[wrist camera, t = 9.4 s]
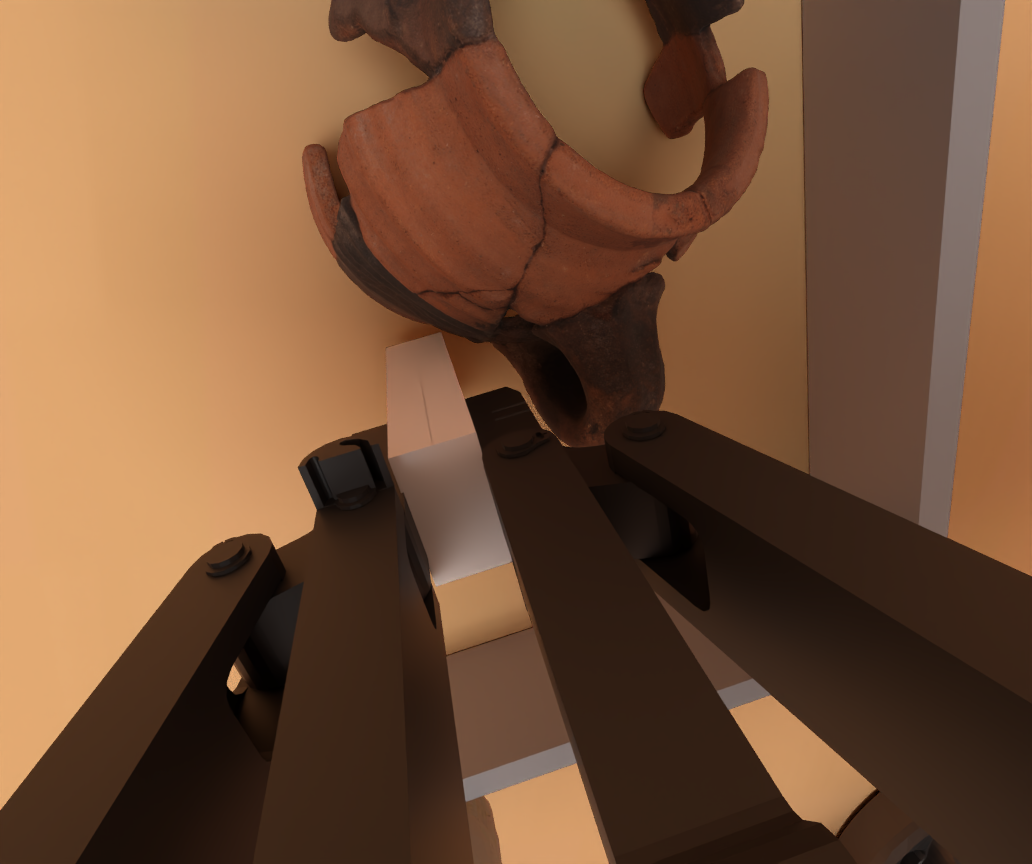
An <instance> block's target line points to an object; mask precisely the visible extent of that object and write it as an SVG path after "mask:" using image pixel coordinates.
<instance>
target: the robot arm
mask: <svg viewBox="0 0 1032 864" xmlns="http://www.w3.org/2000/svg"><path fill="white" fill-rule="evenodd" d="M386 385H387V424H385V425H382V426H379V427H375V428H372V429H369V430H365V431H362V432H359V433H355V434H352V436H350V437H346V438H341V439H338V440H336V441H333V442H330V443H328V444H325V445H324V446H322V447H320V448H318V449H316V450H315V451H313V452H311V453H310V454H309V455H308V456H307V457H305V458H304V459H303V460H302V462H301V463H300V465H299V466H298V469H299V471H300V474H301V476H302V478H303V480H304V482H305V485H306V487H307V489H308V491H309V493H310V496H311V498H312V500H313V502H314V504H315V507H316V509H317V513H316V518H315V524H314V529H313V530H312V531H311V532H309V533H308V534H306V535H304V536H302V537H301V538H299V539H297V540H295V541H293V542H291V543H289V544H287V545H285V546H283V547H281V548H279V549H277V550H276V549H275V547H274V545H273V543H272V541H271V539H270V537H268V536H266V535H263V534H247V535H243V536H240V537H233V538H230V539H228V540H225V542H224V543H223V542H221V543H219V544H217V545H215V546H214V547H213V548H212V549H211V550H210V551H208V552H207V553H205V554H204V555H202V556H201V557H200V558H199V559H198V560H197V561H196V562H195V563H194V564H193V565H192V566H191V567H190V568H189V569H188V571H187V572H186V573H185V574H184V576H183V577H182V578H181V580H180V581H179V582H178V583H177V585H176V586H175V587H174V589H173V590H172V591H171V592H170V594H169V595H168V596H167V598H166V599H165V600H164V601H163V603H162V604H161V605H160V607H159V608H158V609H157V610H156V612H155V613H154V614H153V615H152V617H151V618H150V619H149V621H148V622H147V623H146V624H145V626H144V627H143V628H142V630H141V631H140V632H139V633H138V635H137V636H136V637H135V639H134V640H133V641H132V642H131V644H130V645H129V646H128V648H127V649H126V650H125V651H124V653H123V654H122V655H121V657H120V658H119V659H118V660H117V662H116V663H115V664H114V665H113V667H112V668H111V669H110V671H109V672H108V673H107V674H106V676H105V677H104V678H103V680H102V681H101V682H100V683H99V685H98V686H97V687H96V689H95V690H94V691H93V692H92V694H91V695H90V696H89V698H88V699H87V700H86V701H85V703H84V704H83V705H82V707H81V708H80V709H79V710H78V712H77V713H76V714H75V715H74V717H73V718H72V719H71V721H70V722H69V723H68V724H67V726H66V727H65V728H64V730H63V731H62V732H61V733H60V735H59V736H58V737H57V739H56V740H55V741H54V742H53V744H52V745H51V746H50V748H49V749H48V750H47V751H46V753H45V754H44V755H43V757H42V758H41V759H40V760H39V762H38V763H37V764H36V765H35V767H34V768H33V769H32V771H31V772H30V773H29V774H28V776H27V777H26V778H25V780H24V781H23V782H22V783H21V785H20V786H19V787H18V789H17V790H16V791H15V792H14V794H13V795H12V796H11V798H10V799H9V800H8V801H7V803H6V804H5V805H4V807H3V808H2V809H1V810H0V864H474V860H473V853H472V846H471V838H470V831H469V823H468V816H467V808H466V801H465V793H464V786H463V778H462V771H461V763H460V756H459V748H458V741H457V733H456V726H455V718H454V711H453V703H452V696H451V688H450V681H449V673H448V666H447V658H446V651H445V643H444V636H443V628H442V621H441V613H440V606H439V602H438V600H437V597H436V594H435V592H434V589H433V586H432V584H431V578H430V572H431V574H432V577H433V580H434V582H435V585H436V586H439V585H442V584H446V583H449V582H452V581H455V580H458V579H461V578H464V577H467V576H470V575H473V574H477V573H480V572H483V571H486V570H489V569H492V568H495V567H498V566H501V565H504V564H508V563H511V562H513V565H514V569H515V572H516V576H517V579H518V582H519V586H520V589H521V592H522V596H523V599H524V602H525V606H526V609H527V611H528V613H529V616H530V619H531V622H532V625H533V629H534V632H535V635H536V638H537V641H538V644H539V647H540V650H541V653H542V657H543V660H544V663H545V666H546V669H547V672H548V675H549V678H550V681H551V685H552V688H553V691H554V694H555V697H556V700H557V703H558V706H559V709H560V712H561V716H562V719H563V722H564V725H565V728H566V731H567V734H568V737H569V740H570V744H571V747H572V750H573V753H574V756H575V759H576V762H577V765H578V768H579V772H580V775H581V778H582V781H583V784H584V787H585V790H586V793H587V796H588V800H589V803H590V806H591V809H592V812H593V815H594V818H595V821H596V824H597V827H598V831H599V834H600V837H601V840H602V843H603V846H604V849H605V852H606V855H607V859H608V862H609V864H1032V576H1029V575H1027V574H1025V573H1023V572H1021V571H1018V570H1016V569H1014V568H1012V567H1010V566H1008V565H1005V564H1003V563H1001V562H999V561H997V560H994V559H992V558H990V557H988V556H986V555H983V554H981V553H979V552H977V551H975V550H973V549H970V548H968V547H966V546H964V545H962V544H959V543H957V542H955V541H953V540H951V539H948V538H946V537H944V536H942V535H940V534H938V533H935V532H933V531H931V530H929V529H927V528H924V527H922V526H920V525H918V524H916V523H913V522H911V521H909V520H907V519H905V518H903V517H900V516H898V515H896V514H894V513H892V512H889V511H887V510H885V509H883V508H881V507H878V506H876V505H874V504H872V503H870V502H868V501H865V500H863V499H861V498H859V497H857V496H854V495H852V494H850V493H848V492H846V491H843V490H841V489H839V488H837V487H835V486H833V485H830V484H828V483H826V482H824V481H822V480H819V479H817V478H815V477H813V476H811V475H808V474H806V473H804V472H802V471H800V470H798V469H795V468H793V467H791V466H789V465H787V464H784V463H782V462H780V461H778V460H776V459H773V458H771V457H769V456H767V455H765V454H763V453H760V452H758V451H756V450H754V449H752V448H749V447H747V446H745V445H743V444H741V443H738V442H736V441H734V440H732V439H730V438H728V437H725V436H723V435H721V434H719V433H717V432H714V431H712V430H710V429H708V428H706V427H703V426H701V425H699V424H697V423H695V422H693V421H690V420H688V419H686V418H684V417H682V416H679V415H677V414H674V413H670V412H667V411H652V410H642V412H640V411H636V412H632V413H630V414H629V415H626V416H623V417H620V418H619V419H617V420H615V421H614V422H612V423H610V424H609V426H608V427H607V428H606V429H605V430H604V442H605V445H598V446H590V447H565V446H562V445H561V443H560V441H559V440H558V438H557V437H556V435H554V434H553V433H552V432H550V431H548V430H544V429H542V428H541V426H540V425H539V423H538V421H537V420H536V418H535V416H534V415H533V413H532V411H531V410H530V408H529V406H528V405H527V403H526V402H525V400H524V398H523V396H522V395H521V393H520V392H519V391H516V390H513V389H511V388H508V387H503V388H500V389H497V390H493V391H490V392H487V393H483V394H480V395H477V396H473V397H470V398H467V399H464V396H463V393H462V390H461V388H460V385H459V382H458V379H457V376H456V373H455V370H454V368H453V365H452V362H451V359H450V356H449V353H448V350H447V348H446V345H445V342H444V339H443V336H442V333H441V332H439V333H436V334H432V335H429V336H425V337H422V338H418V339H415V340H411V341H408V342H404V343H401V344H397V345H394V346H391V347H387V348H386ZM429 569H430V570H429ZM654 591H655V592H656V593H657V594H658V595H659V596H660V597H661V598H662V599H664V600H665V601H666V602H667V603H668V604H669V605H670V606H672V607H673V608H674V609H675V610H676V611H677V612H678V613H679V614H681V615H682V616H683V617H684V618H685V619H686V620H687V621H688V622H690V623H691V624H692V625H693V626H694V627H695V628H696V629H697V630H699V631H700V632H701V633H702V634H703V635H704V636H705V637H706V638H708V639H709V640H710V641H711V642H712V643H713V644H714V645H716V646H717V647H718V648H719V649H720V650H721V651H722V652H723V653H725V654H726V655H727V656H728V657H729V658H730V659H731V660H732V661H734V662H735V663H736V664H737V665H738V666H739V667H740V668H741V669H743V670H744V671H745V672H746V673H747V674H748V675H749V676H750V677H752V678H753V679H754V680H755V681H756V682H757V683H758V684H760V685H761V686H762V687H763V688H764V689H765V690H766V691H767V692H769V693H770V694H771V695H772V696H773V697H774V698H775V699H776V700H778V701H779V702H780V703H781V704H782V705H783V706H784V707H785V708H787V709H788V710H789V711H790V712H791V713H792V714H793V715H795V716H796V717H797V718H798V719H799V720H800V721H801V722H802V723H804V724H805V725H806V726H807V727H808V728H809V729H810V730H811V731H813V732H814V733H815V734H816V735H817V736H818V737H819V738H820V739H822V740H823V741H824V742H825V743H826V744H827V745H828V746H829V747H831V748H832V749H833V750H834V751H835V752H836V753H837V754H839V755H840V756H841V757H842V758H843V759H844V760H845V761H846V762H848V763H849V764H850V765H851V766H852V767H853V768H854V769H855V770H857V771H858V772H859V773H860V774H861V775H862V776H863V777H864V778H866V779H867V780H868V781H869V782H870V783H871V784H872V785H873V786H875V787H876V788H877V789H878V790H879V791H880V793H878V794H877V795H876V796H875V797H874V798H873V799H872V800H871V801H870V802H868V803H867V804H866V805H865V806H864V807H863V808H862V809H861V810H860V812H859V813H858V814H857V815H856V816H855V817H854V818H853V819H852V821H851V822H850V823H849V824H848V826H847V827H846V828H845V830H844V831H843V833H842V834H841V836H840V837H839V839H838V838H837V837H836V836H835V835H833V834H832V833H831V832H830V831H829V830H828V829H827V828H826V827H825V826H824V825H822V824H821V823H819V822H812V821H806V820H802V819H801V818H800V817H799V816H798V815H797V814H796V813H795V812H794V811H793V810H792V808H791V807H790V805H789V804H788V803H787V801H786V800H785V798H784V797H783V796H782V794H781V792H780V791H779V789H778V788H777V786H776V785H775V783H774V781H773V780H772V778H771V777H770V775H769V773H768V772H767V770H766V769H765V767H764V765H763V764H762V762H761V761H760V759H759V758H758V756H757V754H756V753H755V751H754V750H753V748H752V746H751V745H750V743H749V742H748V740H747V738H746V737H745V735H744V734H743V732H742V731H741V729H740V727H739V726H738V724H737V723H736V721H735V719H734V718H733V716H732V715H731V713H730V711H729V710H728V708H727V707H726V705H725V704H724V702H723V700H722V699H721V697H720V696H719V694H718V692H717V691H716V689H715V688H714V686H713V684H712V683H711V681H710V680H709V678H708V677H707V675H706V673H705V672H704V670H703V669H702V667H701V665H700V664H699V662H698V661H697V659H696V657H695V656H694V654H693V653H692V651H691V650H690V648H689V646H688V645H687V643H686V642H685V640H684V638H683V637H682V635H681V634H680V632H679V630H678V629H677V627H676V626H675V624H674V623H673V621H672V619H671V618H670V616H669V615H668V613H667V611H666V610H665V608H664V607H663V605H662V603H661V602H660V600H659V599H658V597H657V596H656V594H655V592H654ZM233 664H234V666H235V667H236V669H237V670H238V672H239V674H240V675H241V677H242V678H241V680H240V682H239V684H238V685H237V687H236V689H235V690H234V691H233V692H232V691H231V690H229V688H228V687H227V680H228V677H229V674H230V671H231V668H232V666H233Z"/></svg>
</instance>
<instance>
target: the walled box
mask: <svg viewBox="0 0 1032 864" xmlns="http://www.w3.org/2000/svg"><path fill="white" fill-rule="evenodd" d="M1004 6H1005V0H802V26H803V89H804V151H805V213H806V276H807V338H808V401H809V463H810V475H811V476H813V477H815V478H817V479H819V480H822V481H824V482H826V483H828V484H830V485H833V486H835V487H837V488H839V489H841V490H843V491H846V492H848V493H850V494H852V495H854V496H857V497H859V498H861V499H863V500H865V501H868V502H870V503H872V504H874V505H876V506H878V507H881V508H883V509H885V510H887V511H889V512H892V513H894V514H896V515H898V516H900V517H903V518H905V519H907V520H909V521H911V522H913V523H916V524H918V525H920V526H922V527H924V528H927V529H929V530H931V531H933V532H935V533H938V534H940V535H942V536H944V537H946V538H947V536H948V527H949V518H950V508H951V499H952V490H953V481H954V471H955V462H956V453H957V443H958V434H959V425H960V415H961V406H962V397H963V388H964V378H965V369H966V360H967V350H968V341H969V332H970V323H971V313H972V304H973V295H974V285H975V276H976V267H977V257H978V248H979V239H980V230H981V220H982V211H983V202H984V192H985V183H986V174H987V164H988V155H989V146H990V137H991V127H992V118H993V109H994V99H995V90H996V81H997V71H998V62H999V53H1000V44H1001V34H1002V25H1003V16H1004ZM654 592H655V591H654ZM655 594H656V596H657V597H658V599H659V600H660V602H661V603H662V605H663V607H664V608H665V610H666V611H667V613H668V615H669V616H670V618H671V619H672V621H673V623H674V624H675V626H676V627H677V629H678V630H679V632H680V634H681V635H682V637H683V638H684V640H685V642H686V643H687V645H688V646H689V648H690V650H691V651H692V653H693V654H694V656H695V657H696V659H697V661H698V662H699V664H700V665H701V667H702V669H703V670H704V672H705V673H706V675H707V677H708V678H709V680H710V681H711V683H712V684H713V686H714V688H715V689H716V691H717V692H718V694H719V696H720V697H721V699H722V700H723V702H724V704H725V705H726V707H727V708H728V710H729V709H732V708H735V707H738V706H741V705H743V704H746V703H749V702H752V701H755V700H758V699H761V698H763V697H766V696H769V695H771V694H770V693H769V692H767V691H766V690H765V689H764V688H763V687H762V686H761V685H760V684H758V683H757V682H756V681H755V680H754V679H753V678H752V677H750V676H749V675H748V674H747V673H746V672H745V671H744V670H743V669H741V668H740V667H739V666H738V665H737V664H736V663H735V662H734V661H732V660H731V659H730V658H729V657H728V656H727V655H726V654H725V653H723V652H722V651H721V650H720V649H719V648H718V647H717V646H716V645H714V644H713V643H712V642H711V641H710V640H709V639H708V638H706V637H705V636H704V635H703V634H702V633H701V632H700V631H699V630H697V629H696V628H695V627H694V626H693V625H692V624H691V623H690V622H688V621H687V620H686V619H685V618H684V617H683V616H682V615H681V614H679V613H678V612H677V611H676V610H675V609H674V608H673V607H672V606H670V605H669V604H668V603H667V602H666V601H665V600H664V599H662V598H661V597H660V596H659V595H658V594H657V593H656V592H655ZM446 658H447V666H448V673H449V681H450V688H451V696H452V703H453V711H454V718H455V726H456V733H457V741H458V748H459V756H460V763H461V771H462V778H463V786H464V793H465V801H466V802H467V801H470V800H473V799H475V798H478V797H481V796H484V795H487V794H490V793H493V792H495V791H498V790H501V789H504V788H507V787H510V786H512V785H515V784H518V783H521V782H524V781H527V780H530V779H532V778H535V777H538V776H541V775H544V774H547V773H550V772H552V771H555V770H558V769H561V768H564V767H567V766H570V765H572V764H575V763H577V762H576V759H575V756H574V753H573V750H572V747H571V744H570V740H569V737H568V734H567V731H566V728H565V725H564V722H563V719H562V716H561V712H560V709H559V706H558V703H557V700H556V697H555V694H554V691H553V688H552V685H551V681H550V678H549V675H548V672H547V669H546V666H545V663H544V660H543V657H542V653H541V650H540V647H539V644H538V641H537V638H536V635H535V632H534V629H533V628H530V629H527V630H524V631H521V632H518V633H515V634H512V635H509V636H506V637H503V638H500V639H497V640H494V641H491V642H488V643H485V644H482V645H479V646H476V647H472V648H469V649H466V650H463V651H460V652H457V653H454V654H451V655H448V656H446Z"/></svg>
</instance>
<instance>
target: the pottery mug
mask: <svg viewBox="0 0 1032 864" xmlns="http://www.w3.org/2000/svg"><path fill="white" fill-rule="evenodd" d="M645 1H646V3H647V6H648V8H649V11H650V14H651V16H652V18H653V20H654V22H655V25H656V28H657V31H658V34H659V36H660V38H661V40H662V42H663V49H662V51H661V53H660V55H659V57H658V58H657V60H656V61H655V63H654V65H653V68H652V70H651V73H650V75H649V77H648V79H647V81H646V83H645V86H644V96H645V100H646V103H647V105H648V107H649V109H650V111H651V113H652V115H653V117H654V119H655V120H656V122H657V123H658V125H659V126H660V128H661V130H662V131H663V132H664V134H665V135H666V136H667V137H668V138H670V139H674V138H679V137H682V136H684V135H686V134H688V133H689V132H690V131H691V130H692V128H693V126H694V124H695V123H696V122H697V121H698V120H699V119H700V118H702V117H703V116H704V121H705V151H704V158H703V163H702V167H701V173H700V175H699V177H698V178H697V180H696V181H695V183H694V184H693V185H691V186H690V187H688V188H687V189H685V190H684V191H682V192H680V193H677V194H659V193H649V192H645V191H642V190H639V189H637V188H633V187H630V186H627V185H625V184H623V183H621V182H619V181H617V180H615V179H613V178H611V177H610V176H608V175H606V174H605V173H603V172H601V171H599V170H597V169H596V168H595V167H593V166H592V165H591V164H590V163H588V162H587V161H586V160H585V159H584V158H582V157H581V156H580V155H579V154H578V153H576V152H575V151H574V150H573V149H572V148H571V147H570V146H568V145H567V144H566V143H564V142H563V141H561V140H560V139H558V137H557V136H556V134H555V132H554V130H553V128H552V127H551V125H550V124H549V123H548V122H547V120H546V119H545V118H544V117H543V116H542V114H541V113H540V112H539V111H538V109H537V108H536V106H535V105H534V103H533V101H532V100H531V98H530V96H529V95H528V93H527V91H526V90H525V88H524V87H523V85H522V83H521V81H520V79H519V77H518V76H517V74H516V72H515V70H514V68H513V66H512V64H511V62H510V60H509V58H508V56H507V53H506V51H505V49H504V47H503V45H502V44H501V43H500V42H499V41H498V39H497V37H496V35H495V33H494V29H493V20H492V15H491V7H490V3H489V0H332V1H331V7H330V12H329V29H330V33H331V35H332V37H333V38H334V39H335V40H337V41H343V42H347V41H351V40H354V39H356V38H358V37H360V36H362V35H363V34H365V33H367V34H368V35H369V36H370V37H371V38H372V39H374V40H375V41H378V42H380V43H382V44H384V45H386V46H388V47H390V48H392V49H394V50H396V51H398V52H399V53H401V54H403V55H404V56H406V57H407V58H408V59H409V60H410V62H411V63H412V64H413V65H415V66H416V67H418V68H419V69H420V70H422V71H423V72H424V73H425V74H427V75H428V76H429V80H428V81H427V82H426V83H424V84H423V85H421V86H417V87H412V88H409V89H406V90H403V91H401V92H400V93H398V94H396V95H395V96H394V97H392V98H390V99H388V100H385V101H382V102H379V103H377V104H375V105H372V106H371V107H369V108H367V109H365V110H362V111H359V112H356V113H354V114H352V115H351V116H349V117H347V118H346V119H345V120H344V124H343V132H342V134H341V137H340V140H339V144H338V153H337V163H338V166H339V168H340V171H341V173H342V176H343V178H344V181H345V182H346V184H347V187H348V189H349V192H350V195H348V196H346V197H343V198H342V199H341V204H340V201H339V199H338V196H337V193H336V189H335V186H334V182H333V178H332V174H331V171H330V166H329V161H328V157H327V153H326V150H325V148H324V147H323V146H321V145H319V144H311V145H308V146H306V147H305V149H304V151H303V156H302V162H303V172H304V180H305V184H306V191H307V196H308V200H309V205H310V208H311V211H312V214H313V218H314V220H315V223H316V225H317V227H318V230H319V232H320V234H321V236H322V238H323V240H324V242H325V243H326V245H327V247H328V248H329V250H330V252H331V254H332V255H333V256H334V258H335V259H336V260H337V262H338V264H339V266H340V267H341V269H342V270H343V271H344V272H345V273H346V275H347V276H348V277H349V278H350V279H351V280H352V281H353V282H354V283H355V284H356V285H357V286H358V287H359V288H360V289H361V290H362V291H363V292H364V293H366V294H367V295H368V296H370V297H371V298H372V299H374V300H375V301H376V302H378V303H380V304H381V305H383V306H384V307H386V308H387V309H389V310H391V311H393V312H395V313H397V314H399V315H401V316H403V317H406V318H408V319H411V320H414V321H417V322H421V323H425V324H431V325H433V326H435V327H437V328H439V329H441V330H444V331H446V332H449V333H452V334H455V335H458V336H461V337H465V338H467V339H469V340H470V341H472V342H474V343H482V342H490V343H492V344H493V346H494V347H495V348H496V349H497V350H499V351H500V352H501V353H502V354H503V355H504V356H505V357H506V358H507V359H508V360H509V361H510V362H511V364H512V365H513V367H514V368H515V369H516V371H517V372H518V374H519V375H520V376H521V378H522V380H523V383H524V386H525V388H526V390H527V392H528V394H529V396H530V397H531V400H532V402H533V404H534V405H535V407H536V409H537V411H538V413H539V414H540V416H541V417H542V419H543V420H544V421H545V423H546V424H547V425H548V427H549V428H550V429H551V430H552V432H553V433H554V434H555V435H556V436H557V437H558V438H559V439H560V440H562V441H563V442H564V443H566V444H567V445H569V446H571V447H590V446H598V445H605V442H604V430H605V429H606V428H607V427H608V426H609V424H610V423H612V422H614V421H615V420H617V419H619V418H620V417H623V416H626V415H629V414H630V413H632V412H636V411H640V412H642V410H652V411H658V410H659V408H660V405H661V403H662V400H663V395H664V391H665V373H664V363H663V359H662V355H661V351H660V348H659V342H658V334H657V326H656V315H657V308H658V304H659V300H660V298H661V295H662V293H663V291H664V289H665V282H664V279H663V277H662V275H660V274H657V273H654V272H650V271H652V270H653V269H654V268H656V267H657V266H658V265H659V264H660V263H661V260H662V257H663V256H664V255H665V254H666V255H667V257H668V258H669V259H671V260H672V261H678V260H679V258H680V257H681V256H682V255H683V254H684V253H685V252H686V251H687V249H688V248H689V246H690V245H691V243H692V242H693V240H694V239H695V237H696V235H697V233H699V232H702V231H704V230H706V229H707V228H708V227H709V226H710V225H712V224H714V223H715V222H717V221H718V220H719V219H720V218H721V217H723V216H724V215H725V214H727V213H728V212H729V211H730V210H731V208H732V207H733V205H734V204H735V203H736V202H737V201H738V200H739V199H740V197H741V196H742V194H743V193H744V192H745V191H746V189H747V187H748V186H749V184H750V182H751V180H752V178H753V177H754V175H755V172H756V170H757V167H758V162H759V158H760V155H761V153H762V151H763V148H764V140H765V135H766V130H767V121H768V109H769V108H768V104H769V95H768V85H767V79H766V75H765V73H764V72H763V71H760V70H758V69H756V68H748V69H745V70H743V71H742V72H740V73H739V74H737V75H736V76H735V77H734V78H732V79H731V80H729V81H727V80H726V73H725V67H724V64H723V60H722V57H721V54H720V51H719V49H718V47H717V44H716V41H715V38H714V35H713V33H712V31H711V28H710V24H712V23H714V22H717V21H718V20H720V19H722V18H723V17H725V16H727V15H730V14H733V13H736V12H738V11H739V10H740V9H741V7H742V6H743V4H744V0H645ZM649 272H650V273H649ZM509 309H512V310H514V311H516V312H517V313H518V315H516V316H514V317H504V316H505V315H506V313H507V310H509Z"/></svg>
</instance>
